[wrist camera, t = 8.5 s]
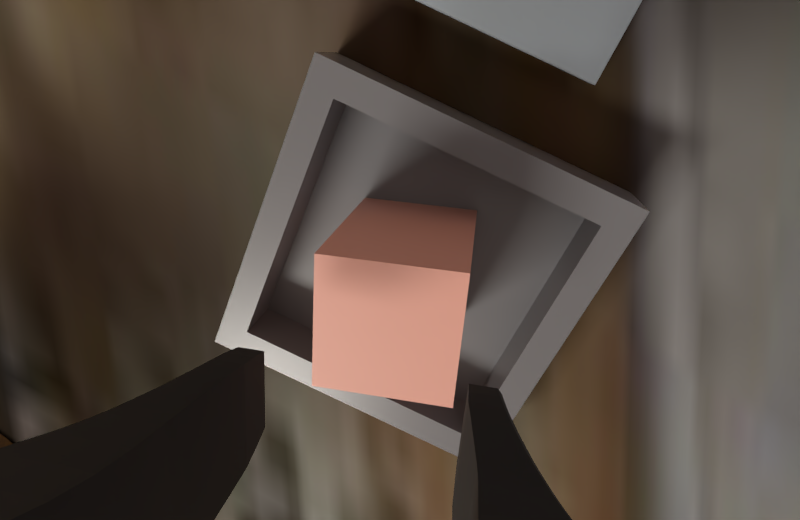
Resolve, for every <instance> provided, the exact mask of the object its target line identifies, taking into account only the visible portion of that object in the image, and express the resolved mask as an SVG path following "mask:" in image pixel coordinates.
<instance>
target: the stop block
mask: <svg viewBox="0 0 800 520" xmlns="http://www.w3.org/2000/svg"><path fill="white" fill-rule="evenodd" d="M476 216H477V210H469V209H461V208H452V207H443V206H434V205H425V204H417V203H408V202H399V201H390V200H381V199H372V198H364V200H363V201H362V202H361V203H360V204H359V205H358V206H357V207H356V208H355V209H354V210H353V212H352V213H351V214H350V215H349V216H348V217H347V218H346V219H345V220H344V221H343V223H342V224H341V225H340V226H339V227H338V228H337V229H336V230H335V231H334V232H333V234H332V235H331V236H330V237H329V238H328V239H327V240H326V241H325V242H324V243H323V244H322V246H321V247H320V248H319V249H318V250H317V251H316V252H315V253H314V294H313V349H312V386H316V387H323V388H329V389H335V390H341V391H348V392H354V393H360V394H367V395H373V396H379V397H386V398H392V399H398V400H404V401H411V402H417V403H423V404H430V405H436V406H442V407H449V408H453V403H454V395H455V388H456V380H457V372H458V365H459V357H460V349H461V341H462V334H463V326H464V318H465V311H466V303H467V295H468V288H469V280H470V272H471V263H472V253H473V244H474V234H475V225H476Z"/></svg>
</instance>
